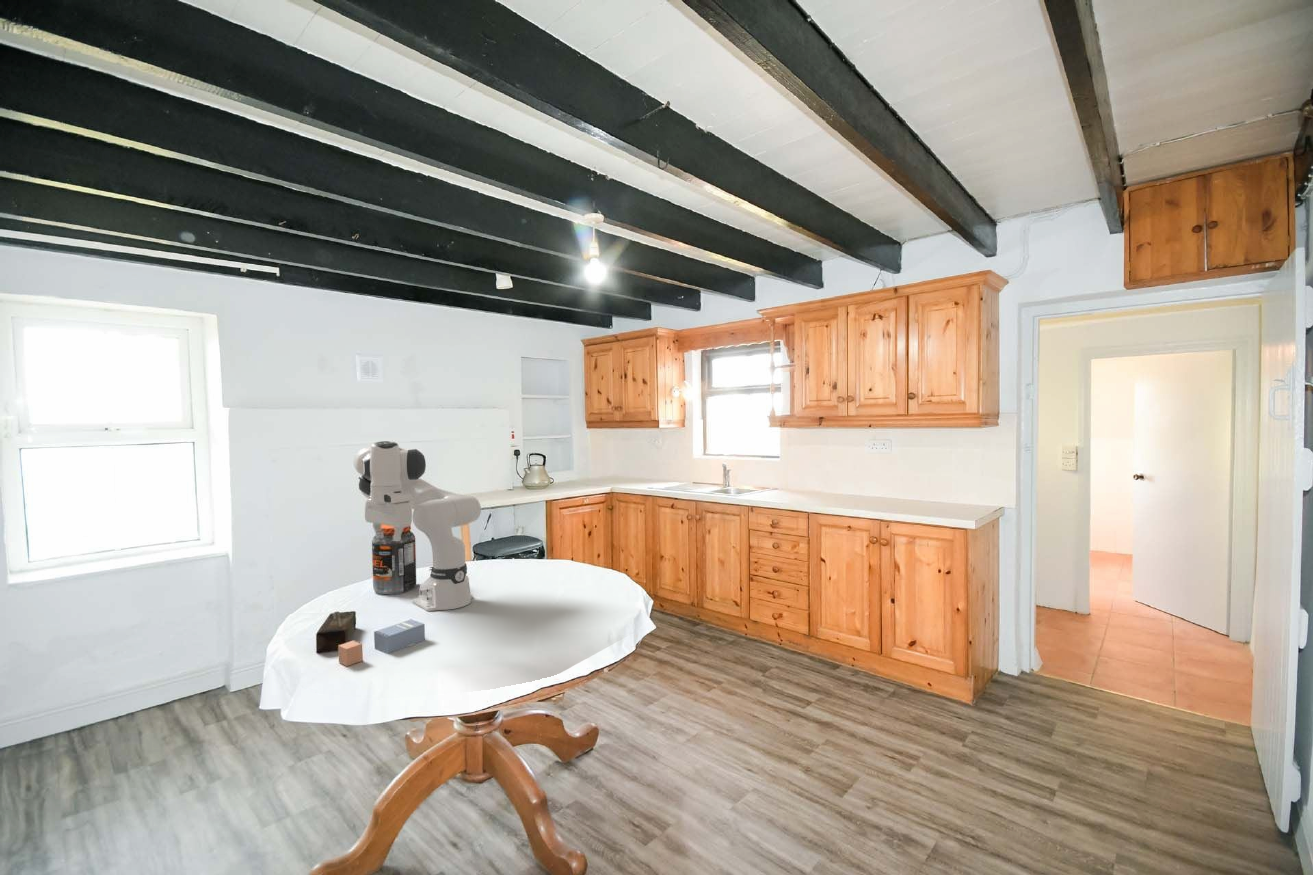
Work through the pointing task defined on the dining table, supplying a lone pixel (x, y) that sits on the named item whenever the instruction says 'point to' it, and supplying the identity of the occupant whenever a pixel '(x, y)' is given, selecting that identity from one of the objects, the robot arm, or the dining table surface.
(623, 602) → the dining table surface
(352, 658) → the stub
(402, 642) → the double-striped slate block
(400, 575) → the supplement tub
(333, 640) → the beverage carton
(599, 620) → the dining table surface
